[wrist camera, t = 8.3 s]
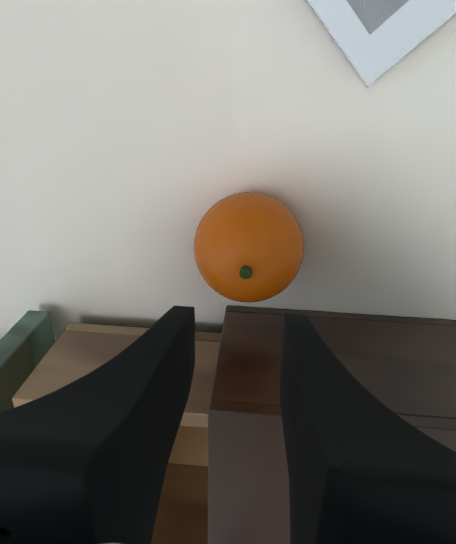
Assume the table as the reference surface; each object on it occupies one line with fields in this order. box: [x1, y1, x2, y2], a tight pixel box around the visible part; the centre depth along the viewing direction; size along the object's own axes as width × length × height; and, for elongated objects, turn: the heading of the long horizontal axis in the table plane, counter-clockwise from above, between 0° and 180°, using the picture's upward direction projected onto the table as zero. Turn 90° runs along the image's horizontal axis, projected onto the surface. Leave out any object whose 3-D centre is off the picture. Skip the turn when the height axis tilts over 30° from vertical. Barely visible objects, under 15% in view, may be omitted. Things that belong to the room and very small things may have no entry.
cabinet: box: [208, 306, 456, 544], centre depth 22 cm, size 14×12×8 cm
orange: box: [194, 192, 304, 302], centre depth 19 cm, size 5×5×5 cm
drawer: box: [0, 310, 222, 544], centre depth 23 cm, size 18×11×6 cm, turn 89°
